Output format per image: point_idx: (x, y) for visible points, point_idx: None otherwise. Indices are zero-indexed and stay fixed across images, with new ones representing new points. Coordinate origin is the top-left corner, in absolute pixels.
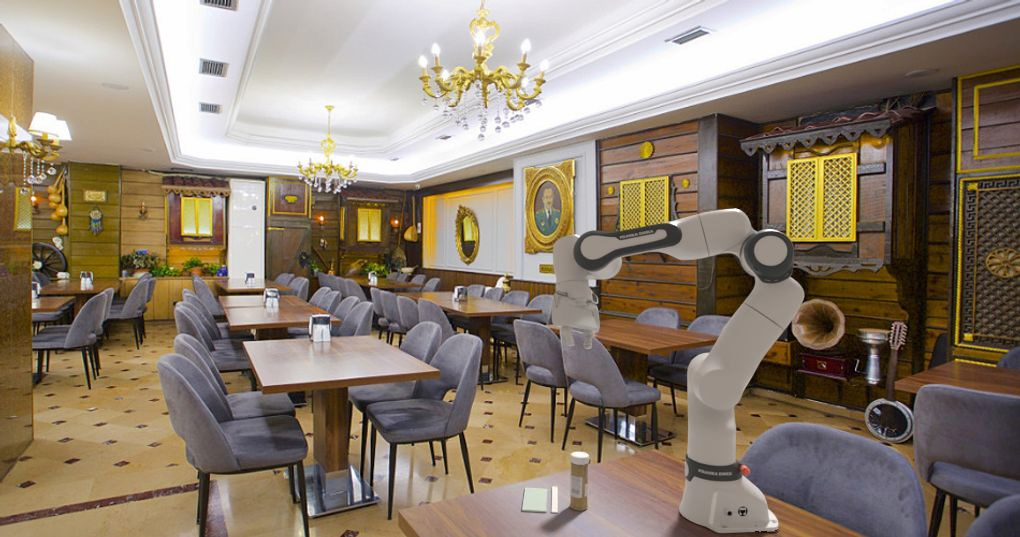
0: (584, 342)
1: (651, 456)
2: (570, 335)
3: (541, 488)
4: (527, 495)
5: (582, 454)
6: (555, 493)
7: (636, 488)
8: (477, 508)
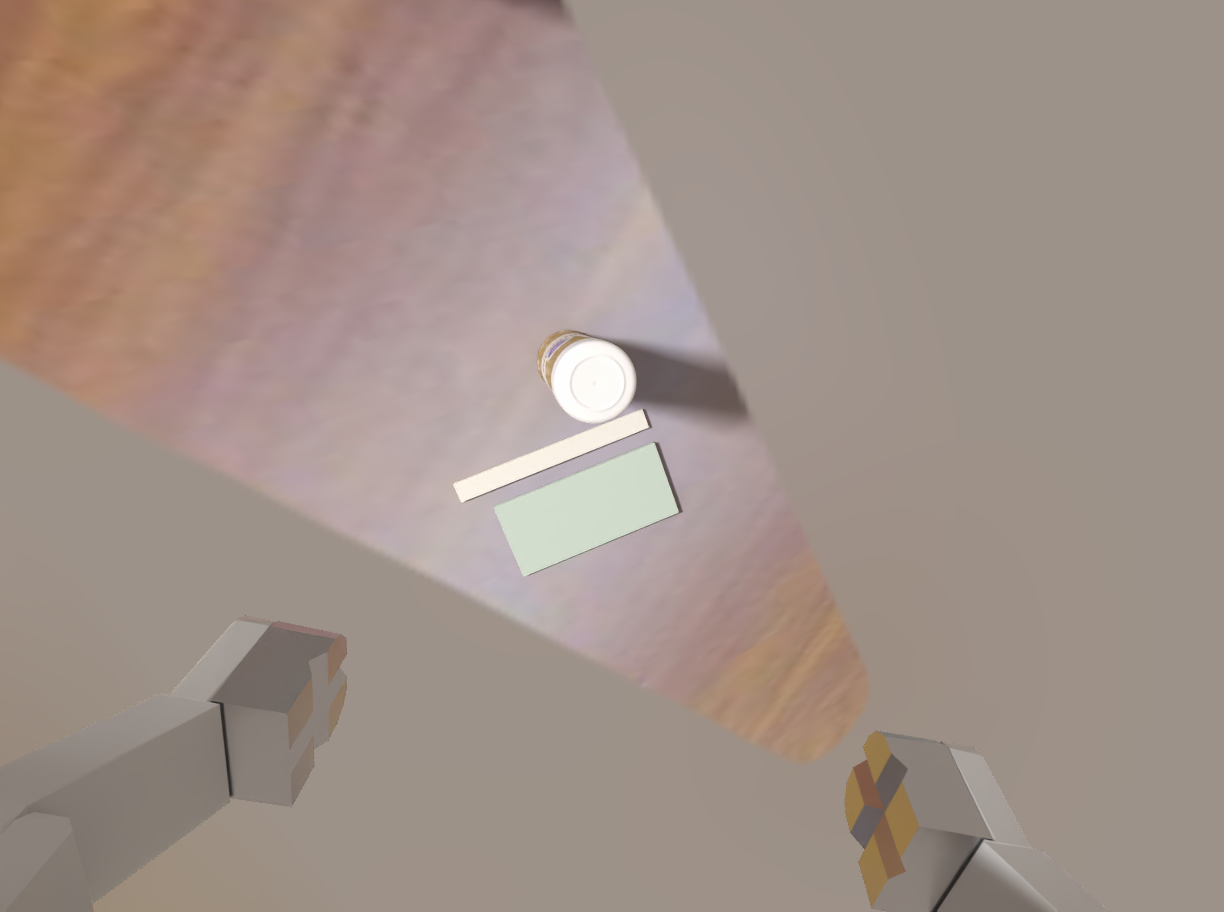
0: (298, 775)
1: None
2: (1097, 901)
3: (502, 526)
4: (578, 542)
5: (590, 371)
6: (513, 468)
7: (284, 200)
8: (717, 628)
